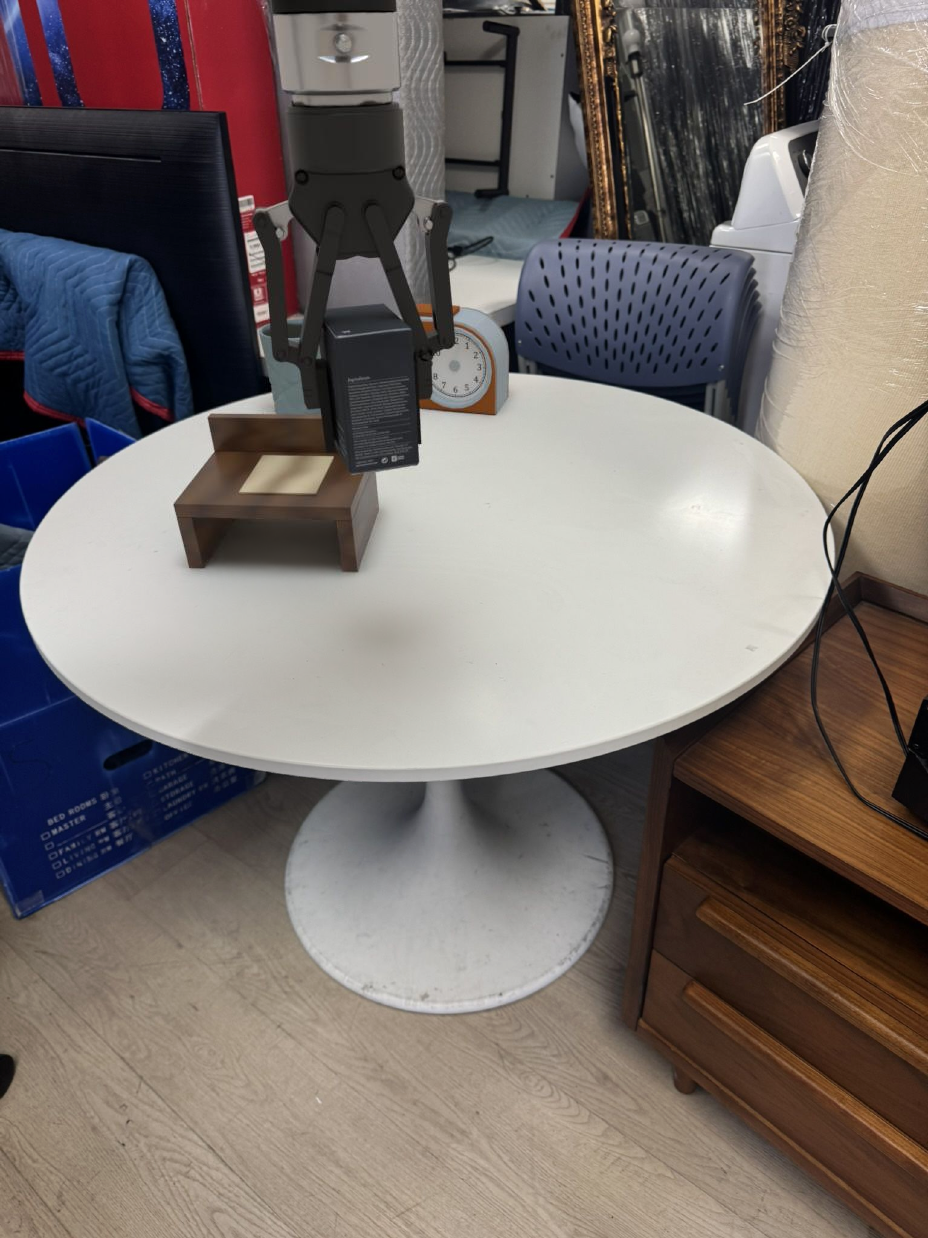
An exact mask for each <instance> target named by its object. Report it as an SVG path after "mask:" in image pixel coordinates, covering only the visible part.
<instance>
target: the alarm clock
mask: <svg viewBox="0 0 928 1238" xmlns="http://www.w3.org/2000/svg"><path fill="white" fill-rule="evenodd" d="M416 307H417V310H418V313H419V315H420V318H421V321H422V324H423V327H424V329H425V332H426V333H427V332H429V331H432V330H434V326H433V317H432V307H431V303H417V304H416ZM452 307H453V318H454V330H455V344H454V346H453V347H452V348H451V349H443V350H441V351H439V352H437V353H435V354H434V356H433V359H432V388H433V393H432V396H431V398H430V399H422V400H419V402H420V409H428V410H429V409H430V410H440V411H449V412H461V413H462V412H463V413H472V414H483V415H493V416H494V415H497V414H498V412H499V411H500V409H502V407H503V405H505V402H506V401H507V400H508V398H509V390H510V389H509V388H510V387H509V386H510V385H509V381H510V380H509V379H510V376H509V375H510V351H509V343H508V341H507V337H506V335H505V332H504V330H503V329H502V327H501V326H500V325H499V323H498V322H497V321H496V320H495V319H494V318H493V317H491V316H490V315H489V314H487V313H485V312H484V311H482V310H479V309H476V308H471V307H466V306H465V307H464V306H463V307H462V306H460V305H454V304H452ZM398 317H399V318H400V319H401V320H402V318H401V315H400V314H399V315H398ZM402 321H403V320H402Z"/></svg>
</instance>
